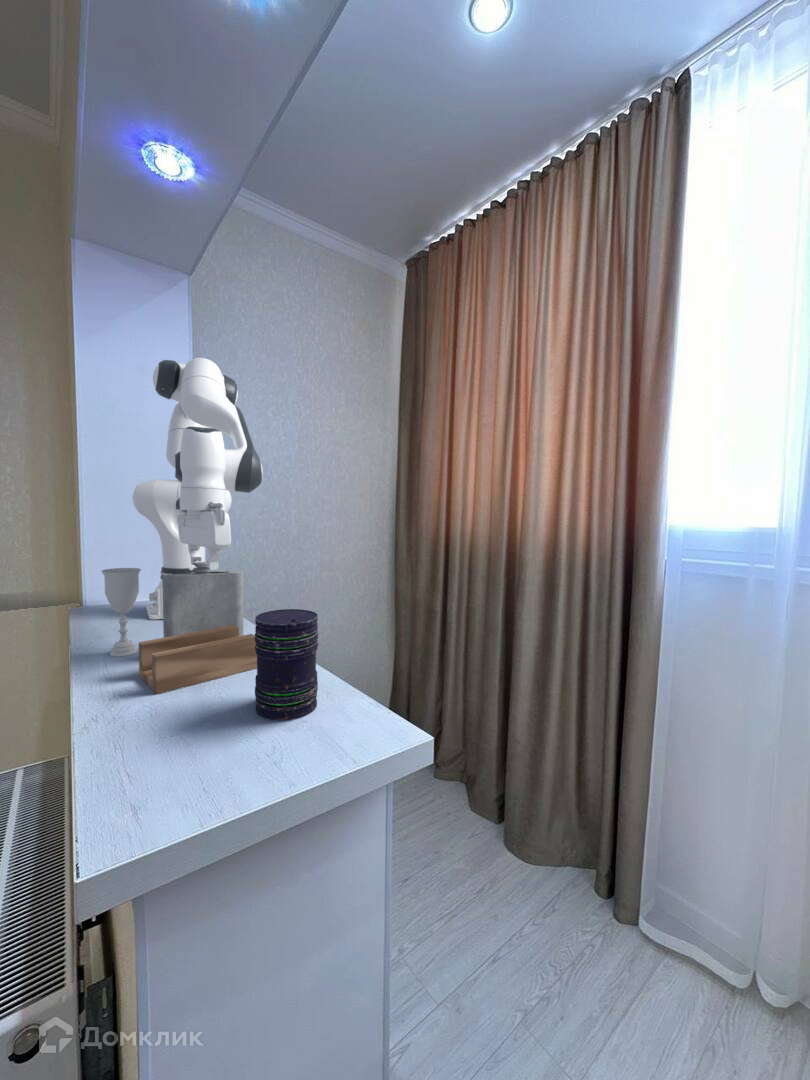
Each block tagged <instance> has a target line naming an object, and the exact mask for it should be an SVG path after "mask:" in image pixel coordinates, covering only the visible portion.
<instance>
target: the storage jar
mask: <svg viewBox="0 0 810 1080" xmlns="http://www.w3.org/2000/svg"><path fill="white" fill-rule="evenodd" d="M254 618H255V619H254V622H255V629H254V630H255V631H254V632H255V633H254V635H255V652H256V654H257V669H256V675H255V685H254V697H255V703H256V705H255V714H256V715H257V716H258V717H260V718H261V719H263V720H267V721H272V722H287V721H293V720H299V719H302V718H303V717H306V716H309V715H310V714H312V713H313V712H314V711H315V710H316V709H317V707H318V701H317V699H318V698H317V697H318V689H319V685H318V684H319V683H318V671H317V650H318V646H319V642H318V641H319V640H318V639H319V630H318V619H319V617H318V613H317V612H314V611H312V610H308V609H294V608H293V609H292V608H289V609H288V608H287V609H286V608H285V609H275V610H270V611H264V612H262V613H259V614H256V616H255V617H254Z"/></svg>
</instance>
